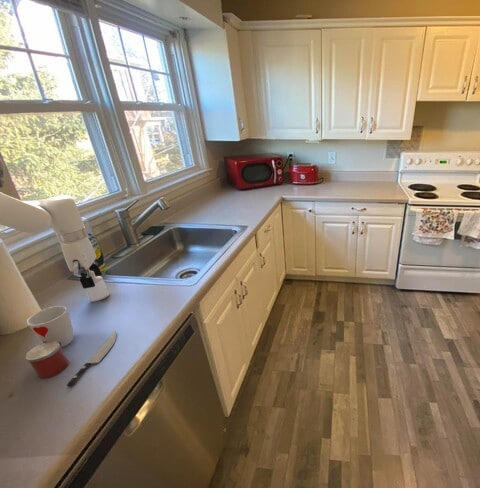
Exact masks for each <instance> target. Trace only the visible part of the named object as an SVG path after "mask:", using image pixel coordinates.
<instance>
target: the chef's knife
mask: <svg viewBox="0 0 480 488" xmlns="http://www.w3.org/2000/svg"><path fill="white" fill-rule="evenodd" d="M116 339H117V332H116V331H114V332H112V334H111V335H110V336H109V337H108V338H107V339H106V340H105V342H103V344H102V345H101V346H100V347H99V348H97V350H96V351H95V352H94V354H93V355H92V356H91V357H90V358H89V359H88V360H87V361H86V362H85V363H84V364H83V366H82V367H81V368H80V369H79V370H78V371H77V372H76V373H75V375H74V376H73V377H72V378H71V379H69V381H68V382H67V384H66V387H71V386H73V385H74V384H75V383H76V381H77V379H79V377H80V376H81V375H82V374H83V373H84V372H85V371H86V370H87V369H88V368H89V367H90V366H91V365H95V364H99V363H100V362H101V360H102V359H103V358H104V357H105V356H106V355H107V353H108V352H109V351H110V349H111V348H112V347H113V346H114V344H115V341H116Z"/></svg>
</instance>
